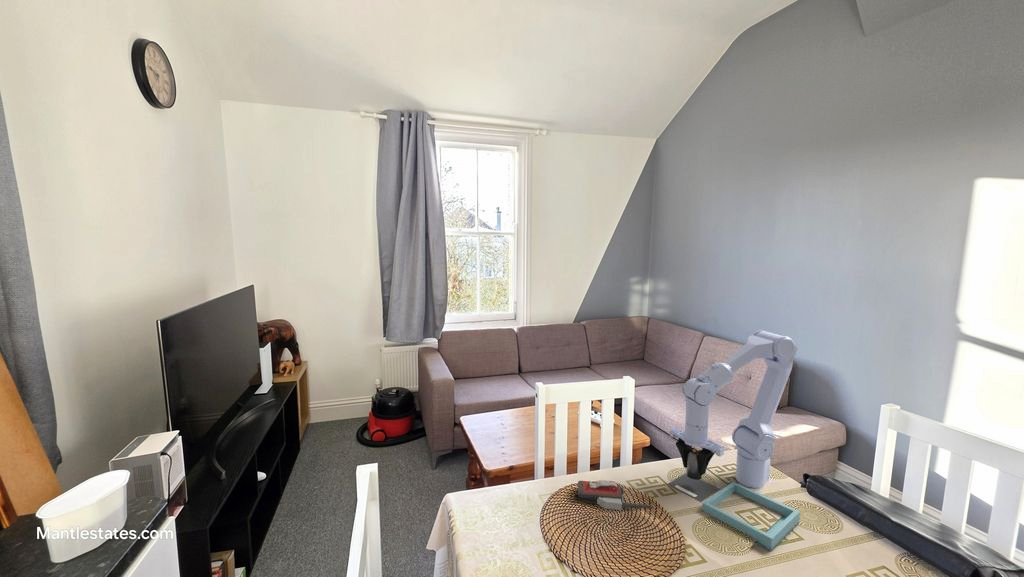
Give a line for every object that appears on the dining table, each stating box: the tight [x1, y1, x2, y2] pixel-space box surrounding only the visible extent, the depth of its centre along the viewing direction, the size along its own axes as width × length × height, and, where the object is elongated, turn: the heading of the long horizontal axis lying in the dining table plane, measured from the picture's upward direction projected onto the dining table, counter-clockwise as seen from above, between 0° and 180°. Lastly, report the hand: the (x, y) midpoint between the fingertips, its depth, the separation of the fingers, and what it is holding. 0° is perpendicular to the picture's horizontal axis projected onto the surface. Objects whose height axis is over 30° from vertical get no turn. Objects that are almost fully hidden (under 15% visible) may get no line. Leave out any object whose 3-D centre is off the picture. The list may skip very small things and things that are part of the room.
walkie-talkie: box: [573, 479, 654, 512], centre depth 110 cm, size 9×4×20 cm
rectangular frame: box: [701, 481, 801, 552], centre depth 103 cm, size 16×16×3 cm
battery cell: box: [685, 447, 703, 480], centre depth 114 cm, size 4×4×8 cm
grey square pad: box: [666, 472, 720, 503], centre depth 115 cm, size 10×10×1 cm
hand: (694, 470), depth 114 cm, fingers closed on battery cell, 4 cm apart
